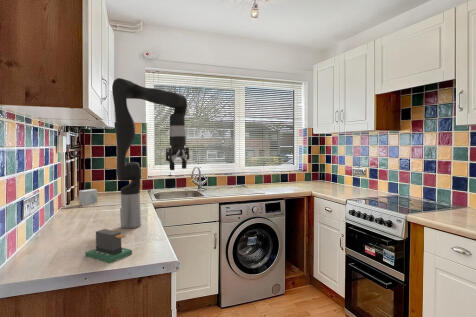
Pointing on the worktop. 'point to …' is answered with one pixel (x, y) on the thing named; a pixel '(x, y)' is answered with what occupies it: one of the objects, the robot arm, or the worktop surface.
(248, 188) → the worktop surface
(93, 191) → the skincare box
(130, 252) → the header board
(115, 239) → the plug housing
